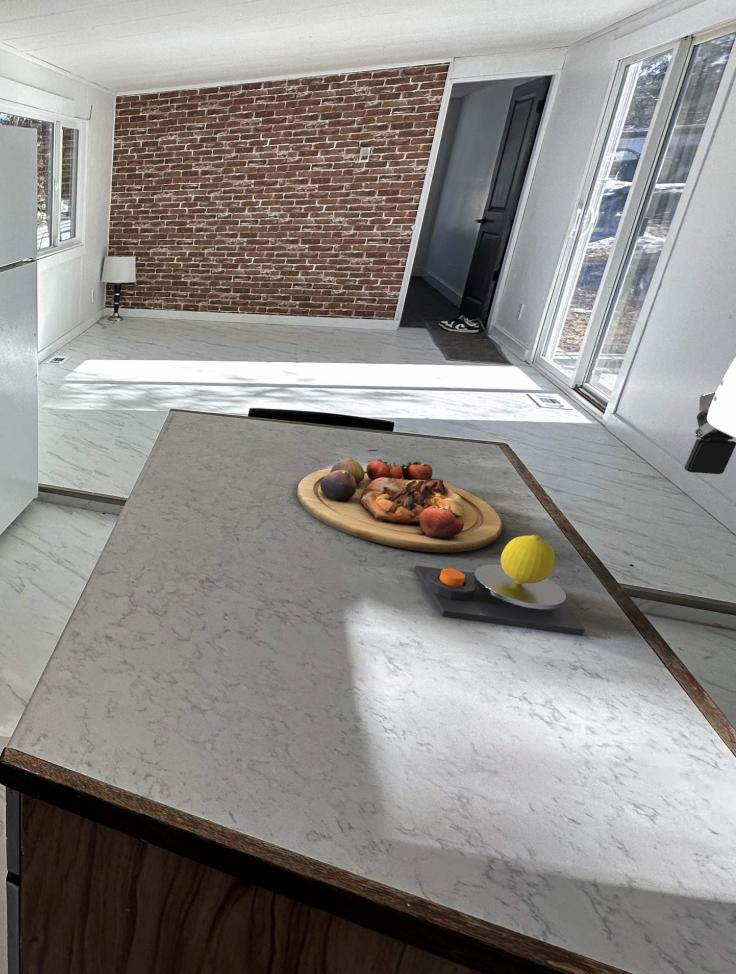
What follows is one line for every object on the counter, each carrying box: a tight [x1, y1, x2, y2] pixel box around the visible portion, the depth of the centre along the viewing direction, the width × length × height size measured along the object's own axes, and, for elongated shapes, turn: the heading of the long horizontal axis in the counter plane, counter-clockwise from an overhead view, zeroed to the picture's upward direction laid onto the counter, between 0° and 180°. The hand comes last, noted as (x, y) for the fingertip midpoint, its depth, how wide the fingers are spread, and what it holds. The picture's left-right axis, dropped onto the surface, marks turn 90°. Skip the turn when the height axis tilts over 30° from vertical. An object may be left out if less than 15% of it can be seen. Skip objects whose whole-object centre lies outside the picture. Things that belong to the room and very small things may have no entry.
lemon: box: [500, 534, 556, 584], centre depth 91 cm, size 6×6×8 cm
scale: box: [413, 565, 585, 637], centre depth 94 cm, size 16×12×4 cm
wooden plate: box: [296, 457, 504, 553], centre depth 120 cm, size 32×32×8 cm
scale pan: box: [474, 564, 567, 610], centre depth 92 cm, size 10×10×1 cm
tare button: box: [439, 567, 465, 587], centre depth 95 cm, size 3×3×2 cm
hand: (735, 490), depth 71 cm, fingers open, 9 cm apart
